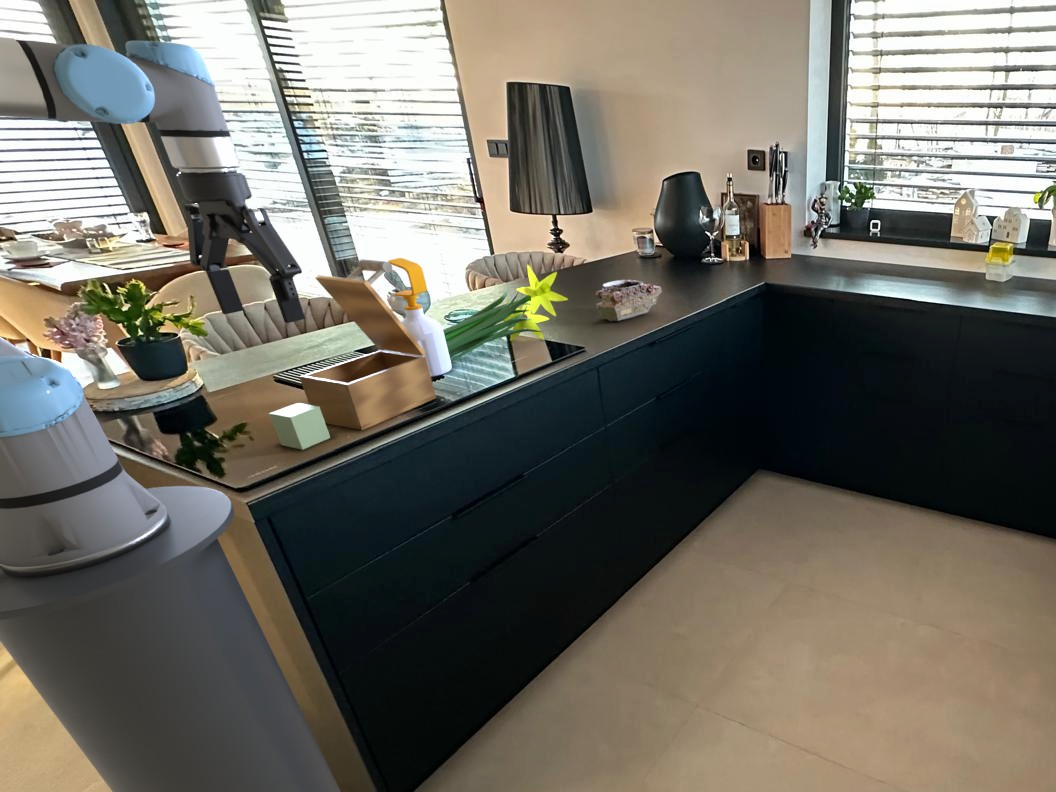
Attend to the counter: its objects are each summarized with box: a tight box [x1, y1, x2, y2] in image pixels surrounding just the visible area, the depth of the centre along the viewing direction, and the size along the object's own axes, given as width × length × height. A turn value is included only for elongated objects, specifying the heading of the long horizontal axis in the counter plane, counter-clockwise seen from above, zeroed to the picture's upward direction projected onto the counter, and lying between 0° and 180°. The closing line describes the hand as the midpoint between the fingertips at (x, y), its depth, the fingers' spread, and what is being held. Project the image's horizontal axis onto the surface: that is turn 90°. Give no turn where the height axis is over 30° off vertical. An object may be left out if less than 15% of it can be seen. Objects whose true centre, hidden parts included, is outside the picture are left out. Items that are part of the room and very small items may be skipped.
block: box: [268, 402, 331, 451], centre depth 107 cm, size 5×5×6 cm
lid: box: [314, 258, 426, 356], centre depth 119 cm, size 18×12×8 cm
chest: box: [299, 349, 437, 431], centre depth 119 cm, size 17×12×9 cm
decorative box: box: [595, 279, 663, 322], centre depth 185 cm, size 13×20×10 cm, turn 139°
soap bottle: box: [387, 257, 453, 378], centre depth 135 cm, size 9×9×25 cm
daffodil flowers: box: [443, 263, 569, 363], centre depth 154 cm, size 17×15×35 cm
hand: (264, 316), depth 99 cm, fingers open, 13 cm apart
